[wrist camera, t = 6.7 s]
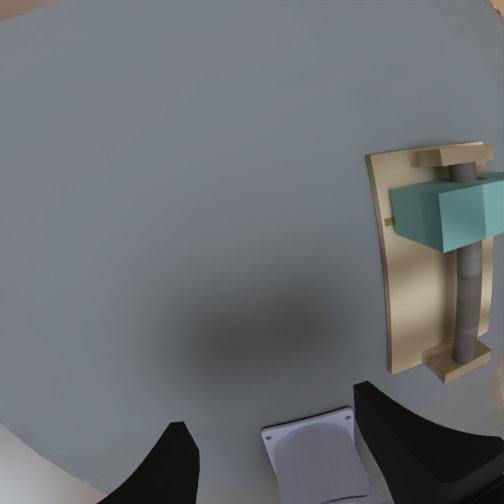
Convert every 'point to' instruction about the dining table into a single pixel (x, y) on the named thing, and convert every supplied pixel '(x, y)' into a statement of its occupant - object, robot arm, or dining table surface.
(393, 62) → the dining table surface
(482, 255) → the pipe jig
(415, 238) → the collar
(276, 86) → the dining table surface
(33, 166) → the dining table surface
